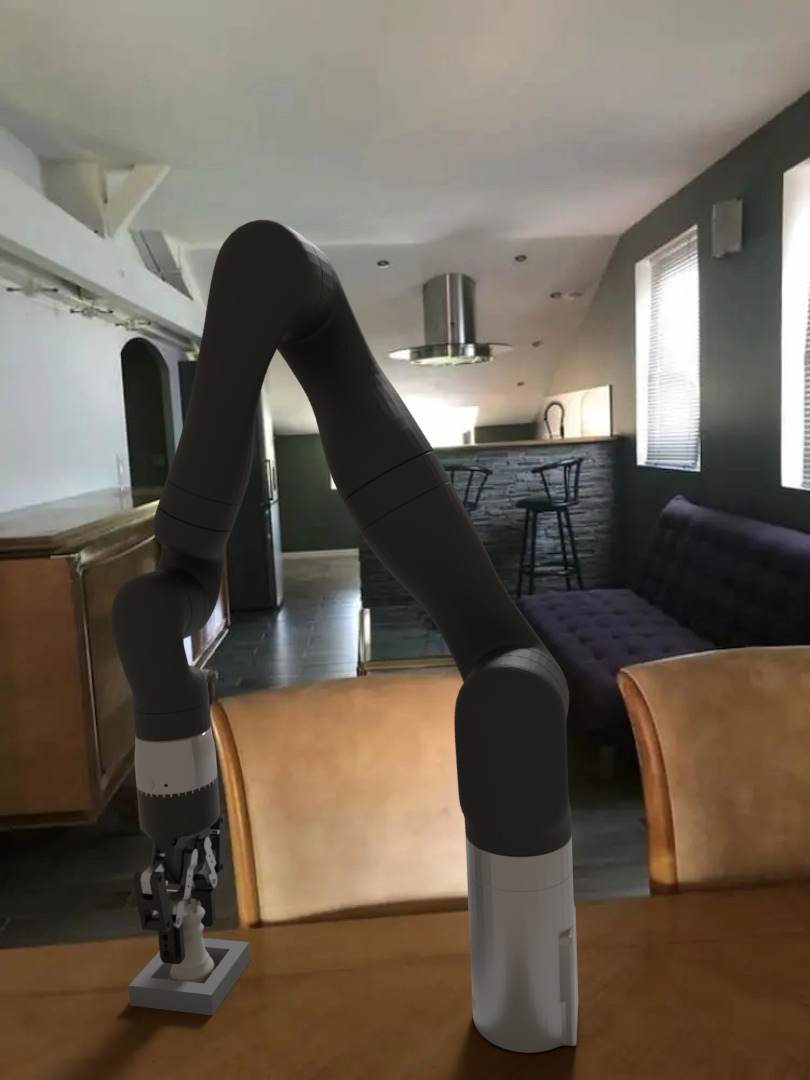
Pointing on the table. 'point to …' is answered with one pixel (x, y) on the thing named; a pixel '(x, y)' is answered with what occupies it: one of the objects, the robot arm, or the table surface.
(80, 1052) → the table surface
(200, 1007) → the socket plinth
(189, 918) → the rook chess piece
